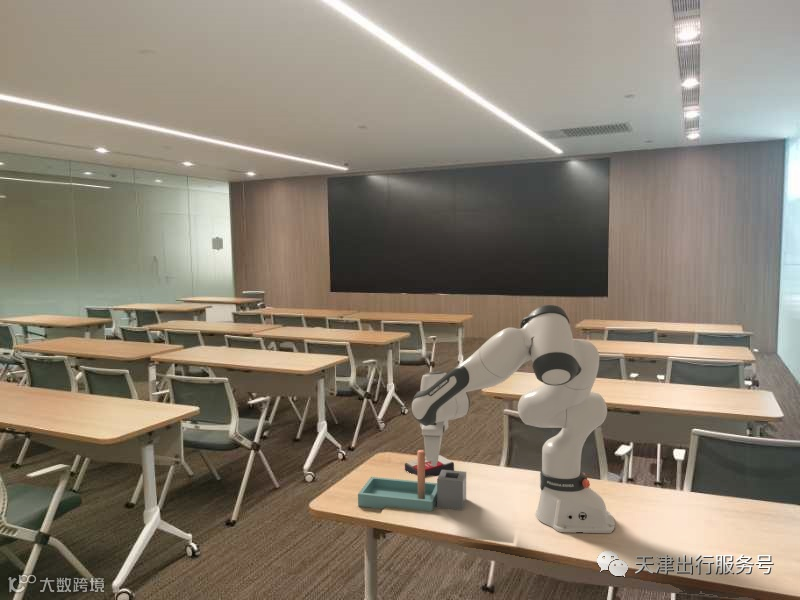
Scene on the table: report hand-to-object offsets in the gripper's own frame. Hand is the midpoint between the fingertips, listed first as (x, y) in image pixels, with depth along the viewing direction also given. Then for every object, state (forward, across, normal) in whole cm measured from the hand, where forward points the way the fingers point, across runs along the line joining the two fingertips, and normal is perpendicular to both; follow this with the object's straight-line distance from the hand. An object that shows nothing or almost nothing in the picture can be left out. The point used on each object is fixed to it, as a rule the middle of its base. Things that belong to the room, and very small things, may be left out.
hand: (434, 464), depth 175 cm
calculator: (+14, -28, -4) cm, 31 cm away
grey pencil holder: (+13, 0, +6) cm, 14 cm away
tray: (+13, -2, -11) cm, 17 cm away
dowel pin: (+12, -1, -4) cm, 13 cm away
